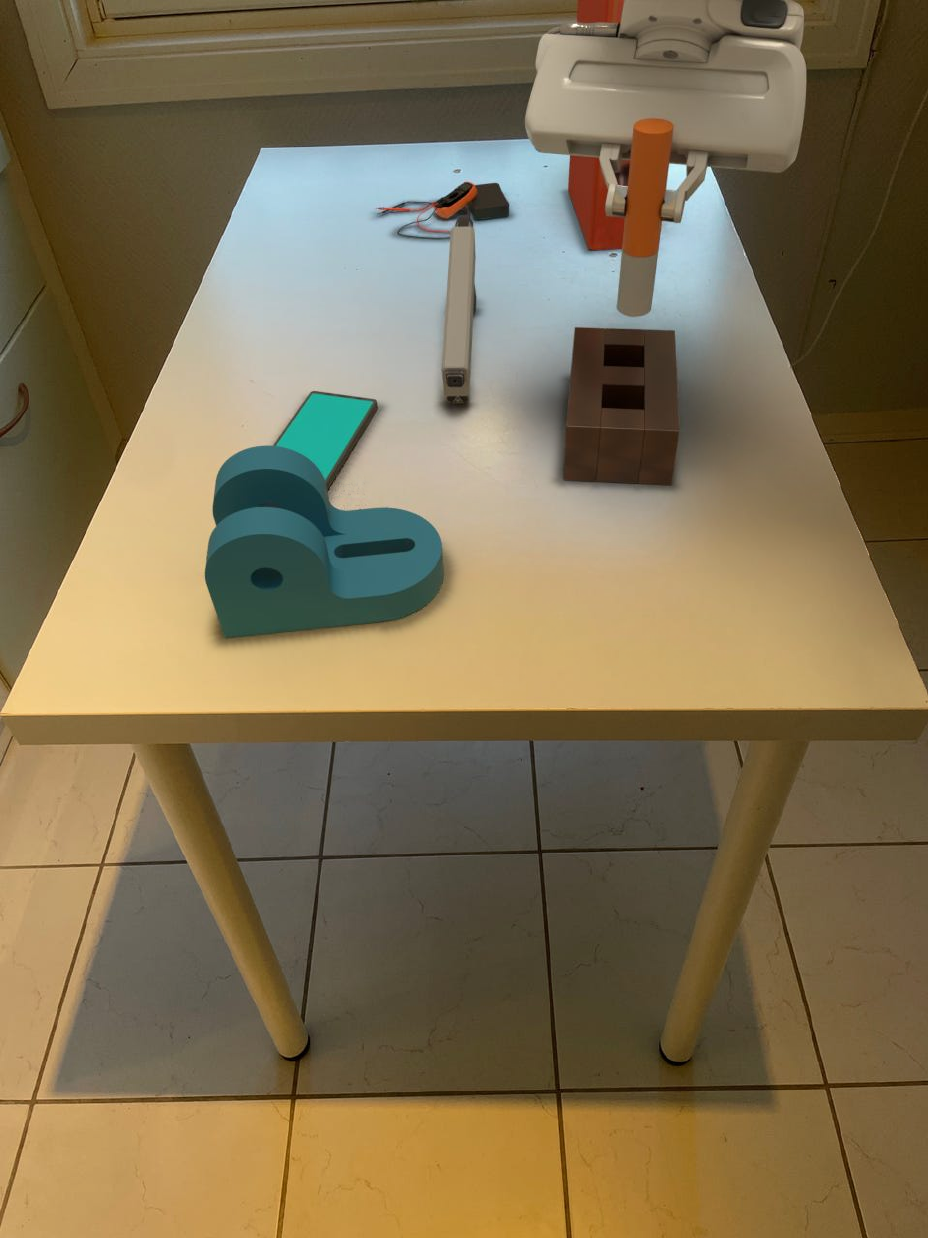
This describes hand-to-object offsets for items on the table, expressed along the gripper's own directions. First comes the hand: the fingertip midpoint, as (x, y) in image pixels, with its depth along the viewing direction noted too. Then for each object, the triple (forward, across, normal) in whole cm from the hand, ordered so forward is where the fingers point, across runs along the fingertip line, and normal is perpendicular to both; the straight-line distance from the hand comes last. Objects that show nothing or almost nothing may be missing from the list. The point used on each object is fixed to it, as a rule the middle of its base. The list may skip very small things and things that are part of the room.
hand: (643, 216), depth 70 cm
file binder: (-19, -11, +52) cm, 57 cm away
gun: (+6, -20, +28) cm, 35 cm away
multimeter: (-16, -32, +49) cm, 61 cm away
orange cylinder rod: (+5, 0, +6) cm, 8 cm away
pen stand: (+13, -1, +20) cm, 24 cm away
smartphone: (+20, -29, +14) cm, 37 cm away
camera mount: (+32, -20, +2) cm, 37 cm away
